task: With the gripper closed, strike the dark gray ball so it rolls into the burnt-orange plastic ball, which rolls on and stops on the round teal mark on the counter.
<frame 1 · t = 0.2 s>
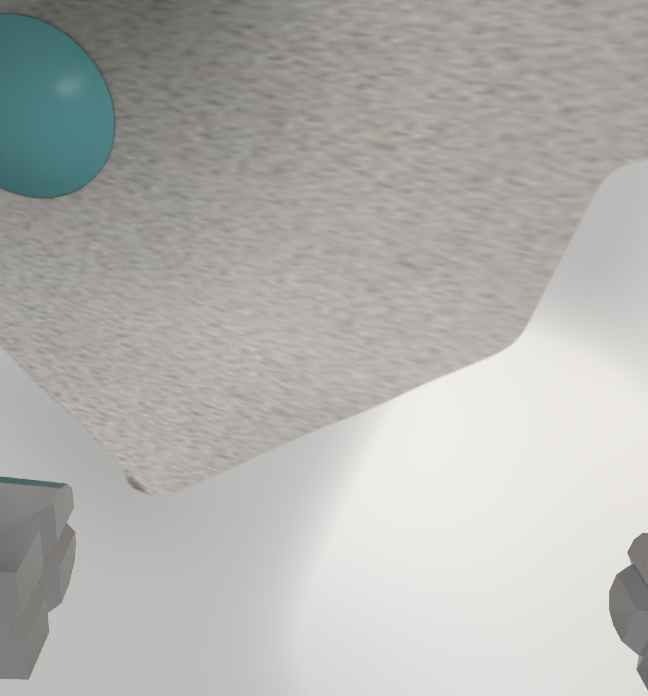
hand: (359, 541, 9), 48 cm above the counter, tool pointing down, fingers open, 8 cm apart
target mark: (27, 111, 50), on the counter
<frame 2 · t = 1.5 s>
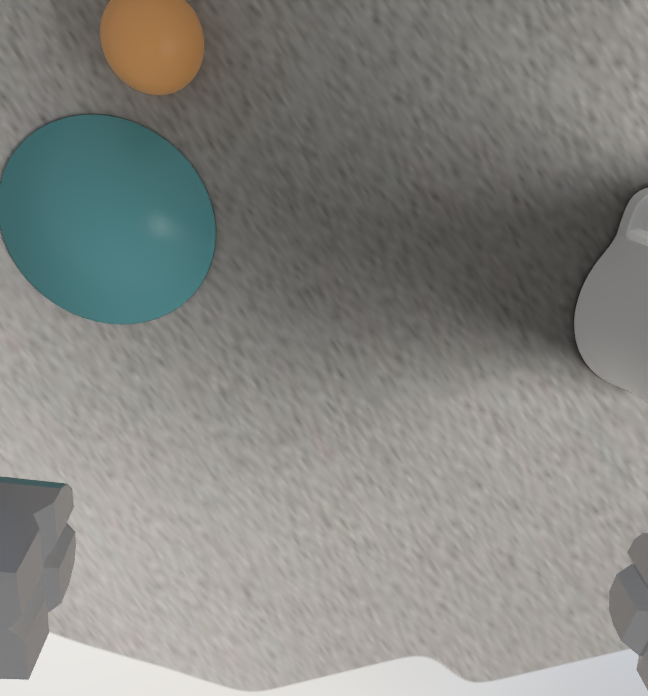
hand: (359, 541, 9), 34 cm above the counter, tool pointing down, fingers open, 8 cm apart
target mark: (109, 226, 41), on the counter
object ball: (153, 40, 33), on the counter
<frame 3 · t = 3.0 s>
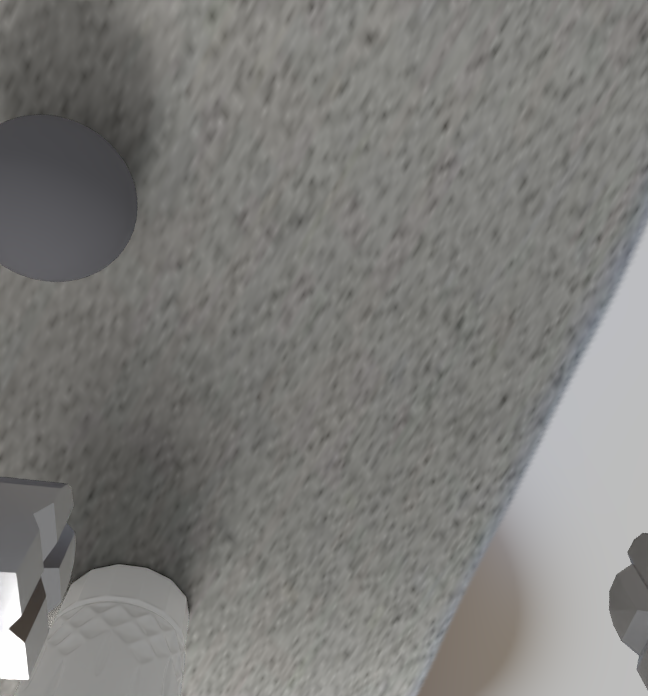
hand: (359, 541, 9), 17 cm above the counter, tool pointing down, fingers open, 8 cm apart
white cup: (129, 603, 34), on the counter
dark gray ball: (53, 200, 21), on the counter
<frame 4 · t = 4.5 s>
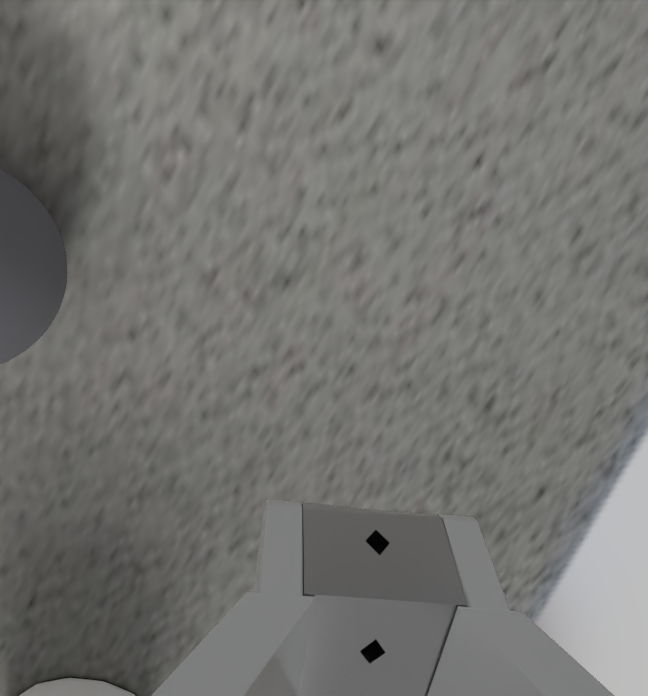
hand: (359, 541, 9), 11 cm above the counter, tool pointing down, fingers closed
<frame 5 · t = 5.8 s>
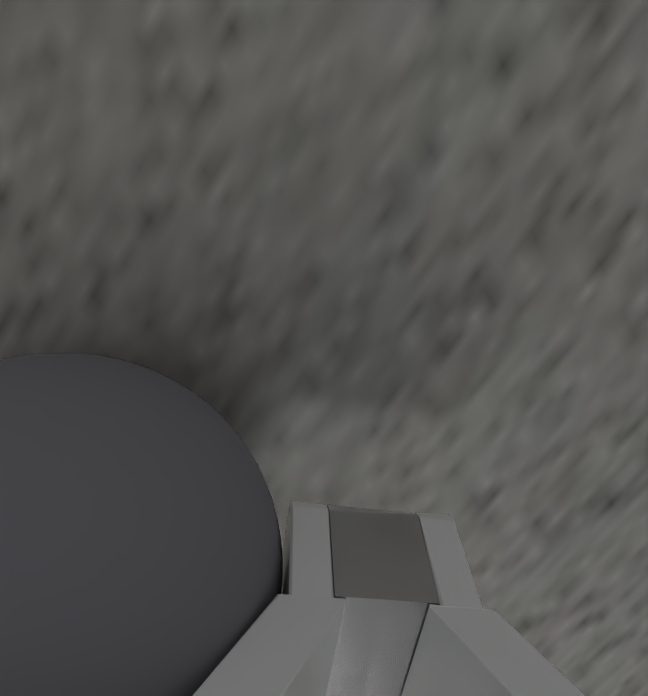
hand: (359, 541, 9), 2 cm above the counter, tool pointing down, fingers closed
dark gray ball: (60, 574, 8), on the counter, touching gripper
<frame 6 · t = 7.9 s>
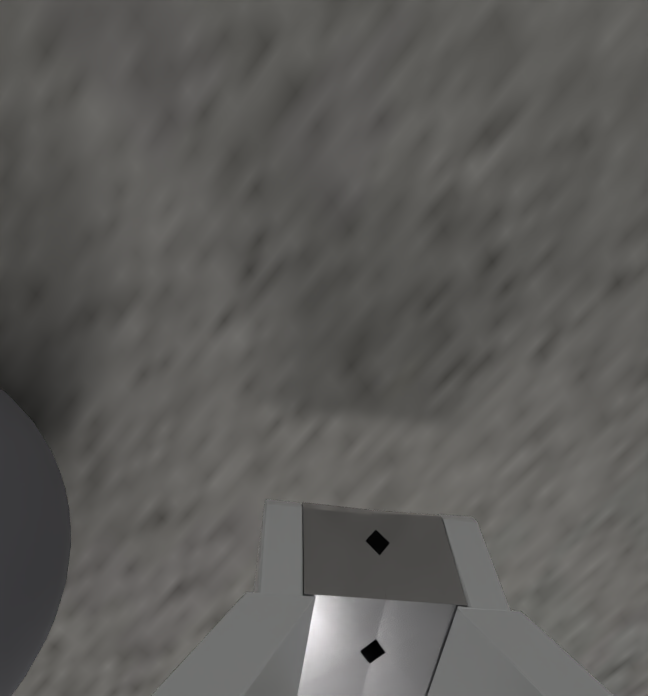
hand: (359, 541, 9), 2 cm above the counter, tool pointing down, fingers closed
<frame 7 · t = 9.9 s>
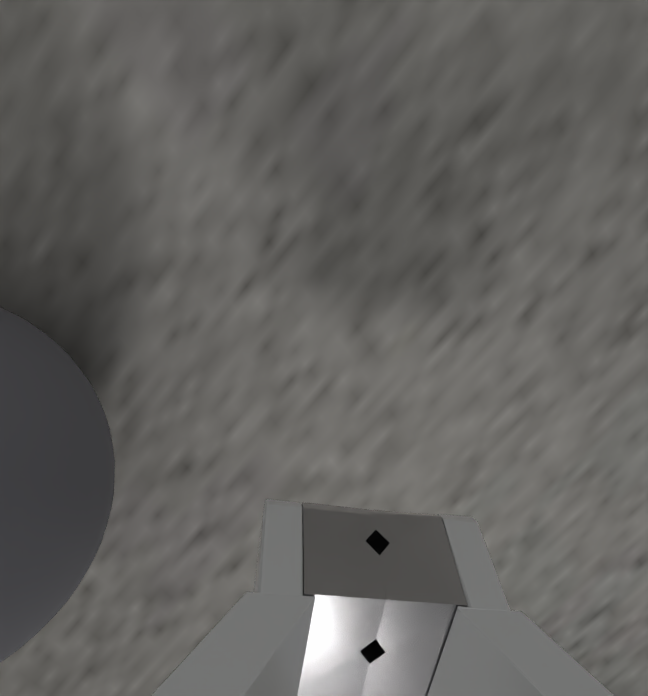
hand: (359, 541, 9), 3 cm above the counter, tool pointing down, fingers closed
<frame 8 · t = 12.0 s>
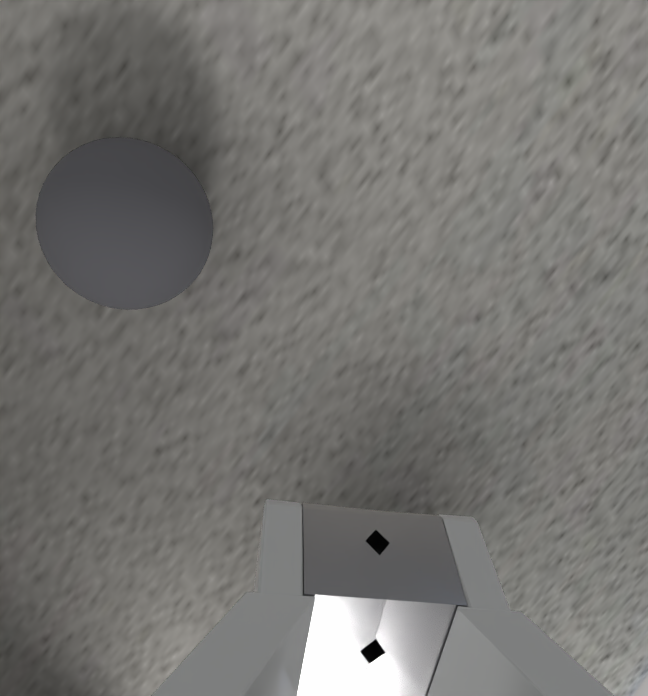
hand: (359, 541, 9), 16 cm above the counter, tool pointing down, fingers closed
dark gray ball: (128, 225, 20), on the counter
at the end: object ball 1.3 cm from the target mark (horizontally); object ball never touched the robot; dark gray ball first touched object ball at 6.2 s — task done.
